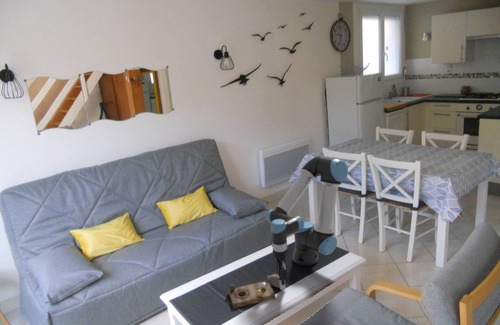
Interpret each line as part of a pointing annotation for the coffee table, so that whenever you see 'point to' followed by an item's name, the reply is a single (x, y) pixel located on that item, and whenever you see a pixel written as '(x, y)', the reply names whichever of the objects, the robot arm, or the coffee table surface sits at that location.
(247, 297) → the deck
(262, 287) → the ball
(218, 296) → the coffee table surface
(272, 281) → the stone
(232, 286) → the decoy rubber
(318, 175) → the robot arm
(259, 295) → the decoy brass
